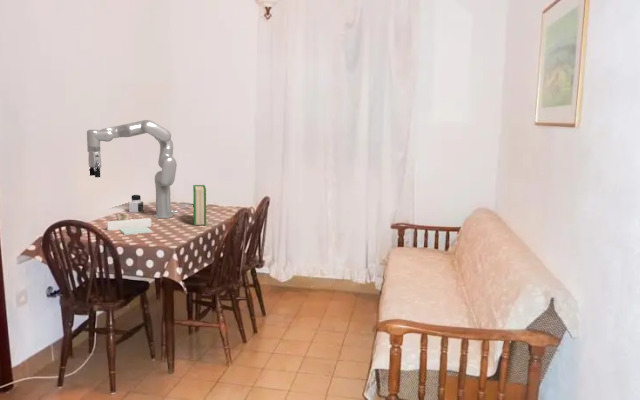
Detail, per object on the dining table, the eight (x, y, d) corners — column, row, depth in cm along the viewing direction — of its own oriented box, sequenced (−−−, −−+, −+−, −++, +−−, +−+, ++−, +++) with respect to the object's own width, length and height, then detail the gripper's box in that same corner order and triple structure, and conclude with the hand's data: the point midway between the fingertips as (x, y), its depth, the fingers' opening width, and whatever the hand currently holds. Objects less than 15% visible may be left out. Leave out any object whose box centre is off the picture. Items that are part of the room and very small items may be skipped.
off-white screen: (150, 225, 341) (150, 218, 340) (151, 226, 339) (151, 218, 339) (107, 229, 327) (107, 221, 326) (108, 230, 325) (107, 222, 325)
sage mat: (146, 228, 334) (146, 226, 334) (152, 232, 324) (152, 230, 324) (119, 230, 325) (119, 229, 325) (124, 234, 315) (124, 233, 315)
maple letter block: (126, 222, 348) (126, 213, 347) (128, 224, 343) (128, 215, 342) (116, 223, 345) (116, 214, 344) (118, 225, 340) (118, 215, 339)
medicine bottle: (138, 212, 381) (137, 196, 379) (129, 212, 383) (128, 195, 381) (143, 211, 388) (143, 194, 386) (134, 210, 390) (134, 194, 388)
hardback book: (206, 225, 347) (206, 188, 343) (194, 225, 345) (194, 188, 341) (204, 220, 364) (204, 185, 360) (193, 220, 362) (193, 185, 358)
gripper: (105, 150, 335) (105, 177, 338) (95, 148, 348) (96, 174, 351) (92, 150, 330) (93, 178, 333) (83, 148, 343) (84, 175, 346)
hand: (94, 176), depth 342 cm, fingers open, 9 cm apart
